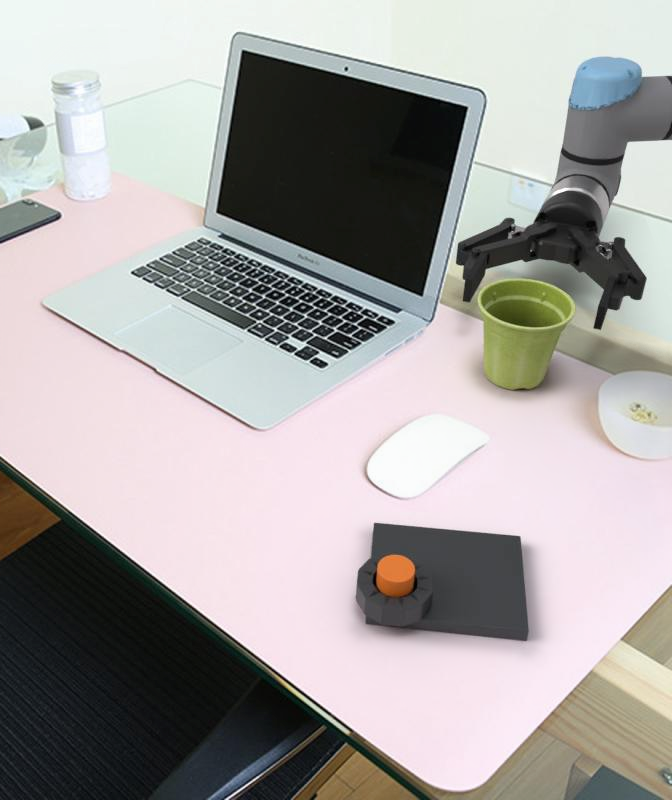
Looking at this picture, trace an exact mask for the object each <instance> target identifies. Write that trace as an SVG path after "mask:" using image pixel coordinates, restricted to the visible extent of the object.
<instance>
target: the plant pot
mask: <svg viewBox="0 0 672 800" xmlns="http://www.w3.org/2000/svg"><path fill="white" fill-rule="evenodd" d="M477 306H478V308H479V310H480V311H481V312H480V314H481V319H482V321H483V323H482V324H483V371H484V373H485V376H486V378H487V379H488V380H489V381H490V382H491V383H493V384H494V385H496V386H498V387H500V388H503V389H507V390H511V391H513V390H517V389H526V390H531V389H534V388H536V387H539V386H540V385H541V384H542V382H543V381H544V379H545V377H546V374H547V371H548V368H549V366H550V364H551V359H552V357H553V355H554V352H555V350H556V347H557V345H558V342H559V340H560V337H561V334H562V332H563V331H564V330H565V329H566V327H567V325H568V324H569V323H570V322H571V321H572V320H573V318H574V316H575V313H576V304H575V301H574V299H573V298H572V297H571V296H570V295H569V294H568V293H567V292H565V291H564V290H563V289H561V288H559V287H557V285H556V286H555V285H553V284H552V283H551V284H550V283H548V282H545V281H542V280H537V279H532V278H531V279H529V278H505V279H500V280H496V281H494V282H491V283H489V284H486V285H485V286H484V287H483V288H482V289H480V291H479V293H478V295H477Z"/></svg>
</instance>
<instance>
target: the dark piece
mask: <svg viewBox="0 0 672 800" xmlns="http://www.w3.org/2000/svg"><path fill="white" fill-rule="evenodd" d="M372 528H373V529H372V540H371V549H370V557H369V558H368V559H367V560H366V561H365V562H364V563H363V564H362V565H361V567H359V569H357V570H358V571H357V578H356V589H355V601H356V603H357V605H358V606H359V608H360V610H361V611H362V613H363V615H365V618H364V619H365V620H364V622H365V623H364V624H365V625H369V626H380V627H389V628H397V629H399V628H400V629H407V630H408V629H409V630H418V631H427V632H428V631H429V632H437V633H446V634H454V635H456V634H457V635H465V636H473V637H483V638H494V639H501V640H502V639H503V640H510V641H511V640H512V641H521V642H527V640H528V636H529V632H530V631H529V629H530V628H529V618H528V608H527V607H528V606H527V596H526V595H527V594H526V583H525V571H524V562H523V561H524V559H523V549H522V548H523V547H522V538H521V536H520V535H512V534H501V533H491V532H480V531H470V530H461V529H460V530H458V529H448V528H438V527H437V528H436V527H425V526H415V525H405V524H393V523H392V524H391V523H384V522H373V527H372ZM389 555H401V556H404V557H406V558H408V559H409V560H411V561H412V563H413V564H414V566H415V577H414V586H413V590H412V591H411V592H410V593H409V594H408V595H407V596H404V597H401V598H392V597H388V596H386V595H384V594H383V593H381V592H380V591H379V589H378V587H377V584H376V580H377V567H378V563H379V561H380V560H381V559H382V558H384V557H386V556H389Z"/></svg>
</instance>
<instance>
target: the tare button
mask: <svg viewBox="0 0 672 800" xmlns="http://www.w3.org/2000/svg"><path fill="white" fill-rule="evenodd" d="M414 577H415V566H414V564H413V563H412V561H411V560H409V559H408V558H406V557H404V556H401V555H389V556H386V557H384V558H382V559H381V560H380V561H379V563H378V567H377V580H376V584H377V587H378V589H379V591H380V592H381V593H383V594H384V595H386V596H388V597H392V598H401V597H404V596H407V595H408V594H409V593H410V592H411V591H412V590H413V586H414Z"/></svg>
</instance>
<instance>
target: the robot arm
mask: <svg viewBox="0 0 672 800" xmlns="http://www.w3.org/2000/svg"><path fill="white" fill-rule="evenodd" d="M571 85H572V86H571V90H570V94H569V96H568V97H569V98H568V102H567V104H568V106H567V114H566V121H565V126H564V133H563V139H562V144H561V148H560V153H559V159H558V164H557V170H556V175H555V180H554V182H553V184H552V186H551V188H550V190H549V191H548V194H547V196H546V198H545V199H544V200H543V203H542V205H541V207H540V209H539V211H538V213H537V214H536V217H535V218H534V220H533V223H531V224H529V225H527V226H526V227H524V226H519V225H516V224H515V221H516V220H515V218H513V217H505V218H504V219H503V220H502V221H501V222H500V223H499V224H497V225H495V226H493V227H490V228H488V229H486V230H484V231H482V232H479V233H477V234H475V235H472V236H470V237H468V238H465V239H463V240H461V241H459V242H458V243H457V249H456V258H455V264H456V265H457V266H460V267H461V266H463V269H462V280H464V286H463V295H462V302H465V303H471V301H472V299H473V298H474V295H475V294H476V292H477V290H478V289H479V286H481V283H482V281H483V279H484V278H485V276H486V270H488V269H492V268H496V267H500V266H503V265H507V264H511V263H515V262H519V261H522V262H524V263H529V262H533V261H537V260H543V261H550V262H551V261H553V262H556V263H560V264H565V265H570V266H571V267H572V268H573V269H574V270H575V271H577V272H578V273H580V274H581V273H584V274H586V275H587V276H588V277H589V278H590V279H591V280H592V281H594V282H595V283H596V284H597V285H598V286H599V287H600V288H601V289H602V290H603V291H602V294H601V297H600V299H599V302H598V306H597V309H596V314H595V319H594V324H593V329H594V330H600V331H601V330H602V328H603V325H604V322H605V320H606V316H607V314H608V310H612V311H616V312H617V311H619V310H620V309H621V306H622V303H623V299H624V298H625V297H629V298H630V299H632V300H634V301H641V300H642V299H643V295H644V291H645V287H646V283H647V280H648V278H647V275H646V274H645V273H644V272H643V270H642V269H641V268H640V266H639V264H638V263H637V261H635V259H634V258H633V256H632V255H631V253H630V251H628V249H627V248H626V239H625V238H624V237H620V236H616V237H614V238H613V241H609V242H607V241H601V239H600V235H601V232H602V230H603V227H604V225H605V222H606V219H607V216H608V214H609V211H610V208H611V206H612V204H613V202H614V199H615V197H616V196H618V192H619V189H620V185H621V183H622V182H621V181H622V167H623V163H624V162H623V161H624V159H625V154H626V150H627V146H628V143H633V142H634V143H636V142H658V141H659V142H660V141H672V75H656V76H655V75H654V76H643V71H642V67H641V65H640V64H639V63H638V62H635V61H634V60H631V59H628V58H624V57H619V56H618V57H612V56H596V57H591V58H588V59H586V60H583V62H581V63H580V64H579V65H578V67H577V68H576V71H575V76H574V78H573V82H572V84H571Z"/></svg>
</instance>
